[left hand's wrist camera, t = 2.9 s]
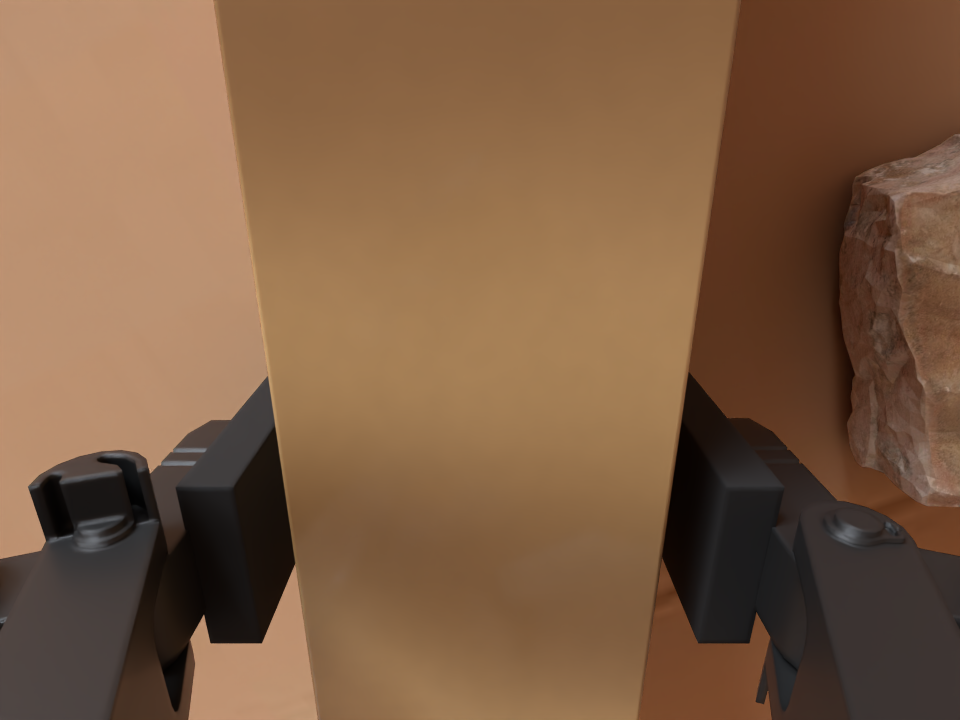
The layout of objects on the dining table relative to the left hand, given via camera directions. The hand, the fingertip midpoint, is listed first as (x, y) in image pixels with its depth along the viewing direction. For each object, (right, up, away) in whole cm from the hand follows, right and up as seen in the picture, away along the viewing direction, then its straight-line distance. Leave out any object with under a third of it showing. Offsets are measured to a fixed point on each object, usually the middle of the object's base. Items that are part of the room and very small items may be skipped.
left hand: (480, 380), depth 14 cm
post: (0, +19, -7) cm, 20 cm away
